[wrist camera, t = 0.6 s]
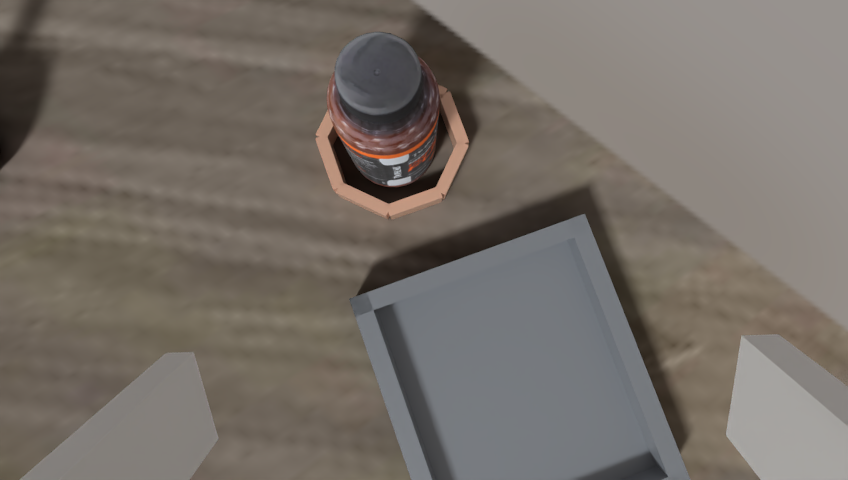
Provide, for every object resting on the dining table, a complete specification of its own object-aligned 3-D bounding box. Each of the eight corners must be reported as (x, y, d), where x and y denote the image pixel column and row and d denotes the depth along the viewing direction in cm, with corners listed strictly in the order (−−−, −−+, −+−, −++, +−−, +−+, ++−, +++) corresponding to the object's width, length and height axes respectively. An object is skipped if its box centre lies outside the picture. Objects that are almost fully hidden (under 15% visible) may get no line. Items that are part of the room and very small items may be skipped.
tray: (355, 297, 30) (349, 298, 27) (571, 218, 30) (584, 213, 28) (445, 557, 28) (447, 584, 26) (670, 471, 29) (694, 489, 26)
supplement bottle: (423, 198, 30) (423, 152, 19) (342, 177, 31) (294, 119, 19) (445, 119, 31) (457, 28, 20) (364, 98, 31) (331, -4, 20)
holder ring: (308, 108, 31) (301, 98, 29) (434, 64, 31) (435, 51, 30) (352, 234, 30) (347, 231, 28) (480, 188, 31) (484, 182, 29)
